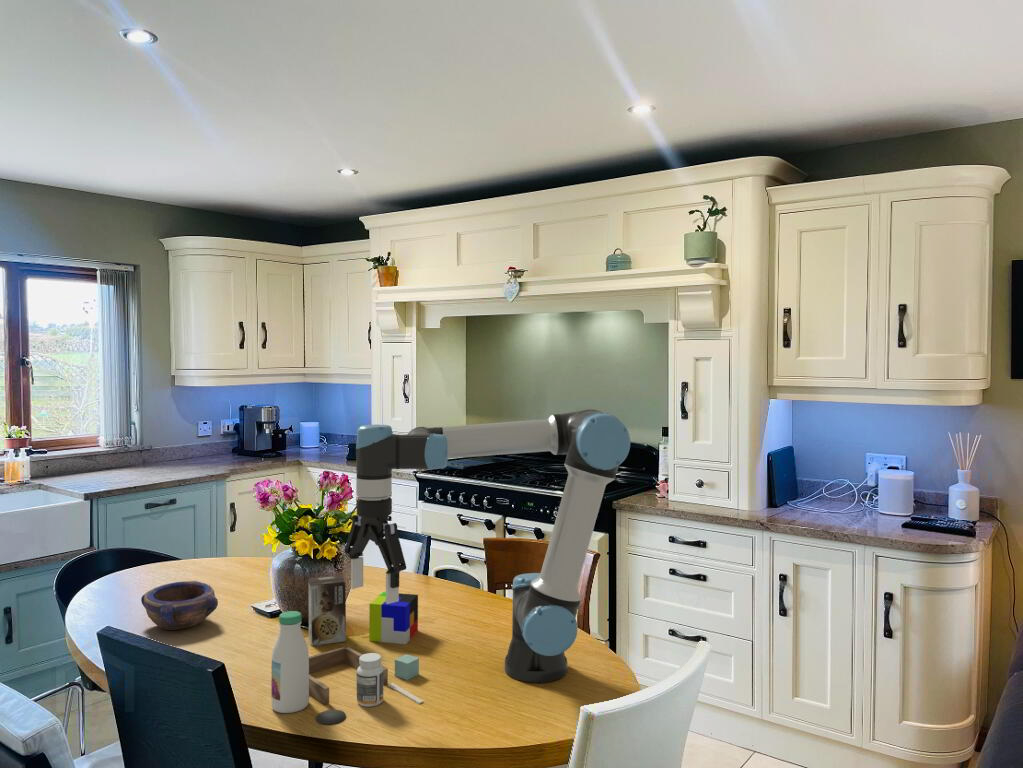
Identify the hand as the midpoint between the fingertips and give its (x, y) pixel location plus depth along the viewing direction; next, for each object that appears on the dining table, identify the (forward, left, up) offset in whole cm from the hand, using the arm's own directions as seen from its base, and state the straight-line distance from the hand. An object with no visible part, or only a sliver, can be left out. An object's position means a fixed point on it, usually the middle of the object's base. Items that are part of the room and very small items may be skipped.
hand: (374, 594), depth 165 cm
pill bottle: (+1, +1, -24) cm, 24 cm away
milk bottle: (+10, +14, -24) cm, 30 cm away
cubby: (+15, +1, -24) cm, 28 cm away
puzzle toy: (+30, -25, -24) cm, 46 cm away
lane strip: (-1, -7, -24) cm, 25 cm away
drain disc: (0, +11, -24) cm, 26 cm away
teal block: (+7, -13, -24) cm, 28 cm away
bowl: (+75, +15, -24) cm, 80 cm away
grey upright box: (+39, -10, -24) cm, 47 cm away
